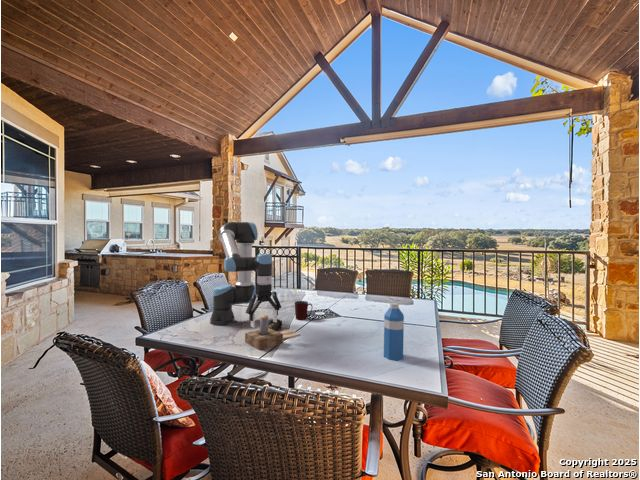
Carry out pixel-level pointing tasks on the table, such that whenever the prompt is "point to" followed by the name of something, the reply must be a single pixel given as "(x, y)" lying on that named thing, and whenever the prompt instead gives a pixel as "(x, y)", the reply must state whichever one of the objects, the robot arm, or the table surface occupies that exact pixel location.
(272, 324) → the brown lumpy club
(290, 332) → the light brown wooden board
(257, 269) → the robot arm
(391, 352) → the water bottle
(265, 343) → the socket block
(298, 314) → the mug
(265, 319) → the plug
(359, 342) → the table surface
